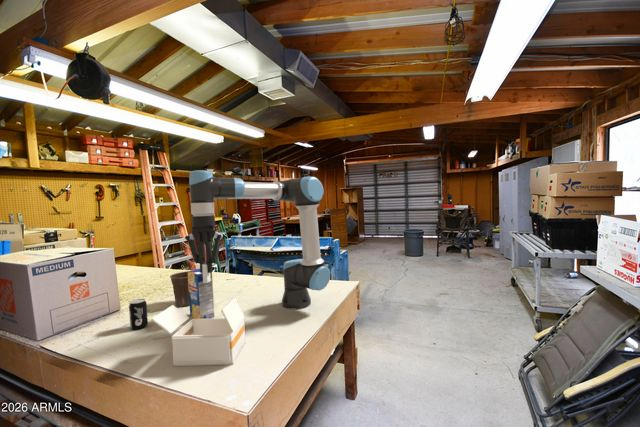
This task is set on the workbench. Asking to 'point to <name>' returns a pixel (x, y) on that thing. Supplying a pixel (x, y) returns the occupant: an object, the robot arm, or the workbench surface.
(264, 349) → the workbench surface
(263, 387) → the workbench surface
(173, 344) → the carton
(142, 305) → the beverage can
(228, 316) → the end flap
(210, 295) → the beverage box
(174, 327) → the end flap
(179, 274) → the plant pot
